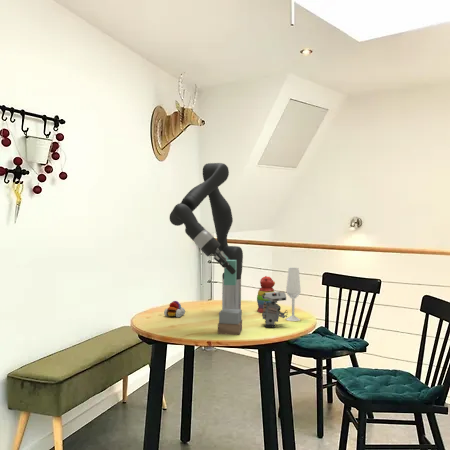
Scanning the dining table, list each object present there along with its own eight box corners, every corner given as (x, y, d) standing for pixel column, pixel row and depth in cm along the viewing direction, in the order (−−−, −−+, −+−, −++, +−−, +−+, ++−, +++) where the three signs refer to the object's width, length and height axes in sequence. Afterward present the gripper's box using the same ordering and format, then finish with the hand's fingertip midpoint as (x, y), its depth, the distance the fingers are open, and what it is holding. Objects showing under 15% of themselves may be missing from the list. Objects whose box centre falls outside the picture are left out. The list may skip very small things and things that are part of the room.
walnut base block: (221, 329, 203) (221, 319, 203) (242, 330, 202) (242, 319, 202) (217, 334, 194) (217, 323, 194) (239, 335, 193) (239, 324, 193)
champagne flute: (283, 319, 222) (283, 268, 222) (290, 317, 227) (291, 267, 227) (295, 321, 218) (295, 269, 217) (303, 319, 223) (303, 268, 222)
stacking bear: (276, 314, 234) (276, 278, 234) (255, 313, 236) (256, 277, 235) (277, 309, 245) (277, 275, 244) (257, 309, 246) (258, 274, 246)
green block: (225, 283, 201) (225, 259, 200) (236, 283, 200) (236, 259, 200) (224, 285, 196) (224, 260, 196) (235, 285, 195) (235, 261, 195)
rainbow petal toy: (162, 317, 225) (162, 302, 225) (170, 313, 234) (170, 298, 234) (178, 318, 223) (179, 303, 222) (186, 314, 232) (186, 299, 232)
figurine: (288, 328, 205) (288, 293, 204) (261, 327, 206) (262, 293, 205) (287, 323, 214) (287, 290, 214) (261, 323, 215) (262, 289, 214)
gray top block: (223, 319, 203) (223, 308, 203) (241, 320, 201) (241, 309, 201) (218, 323, 195) (219, 312, 195) (238, 324, 193) (238, 313, 193)
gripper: (210, 237, 191) (239, 267, 190) (215, 235, 206) (243, 264, 204) (196, 250, 192) (226, 280, 191) (203, 247, 206) (230, 276, 205)
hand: (234, 272), depth 198 cm, fingers closed on green block, 4 cm apart
